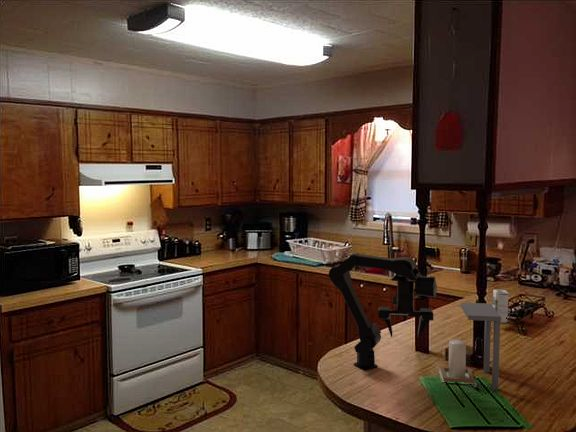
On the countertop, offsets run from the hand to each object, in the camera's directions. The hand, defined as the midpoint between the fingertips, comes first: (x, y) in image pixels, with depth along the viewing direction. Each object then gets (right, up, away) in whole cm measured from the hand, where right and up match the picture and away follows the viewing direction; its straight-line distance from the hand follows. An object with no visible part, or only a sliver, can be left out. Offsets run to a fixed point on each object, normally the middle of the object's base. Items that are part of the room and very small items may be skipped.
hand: (405, 337), depth 180 cm
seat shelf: (+20, -13, -4) cm, 25 cm away
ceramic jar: (+17, -13, -3) cm, 22 cm away
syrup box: (+58, -7, +60) cm, 84 cm away
